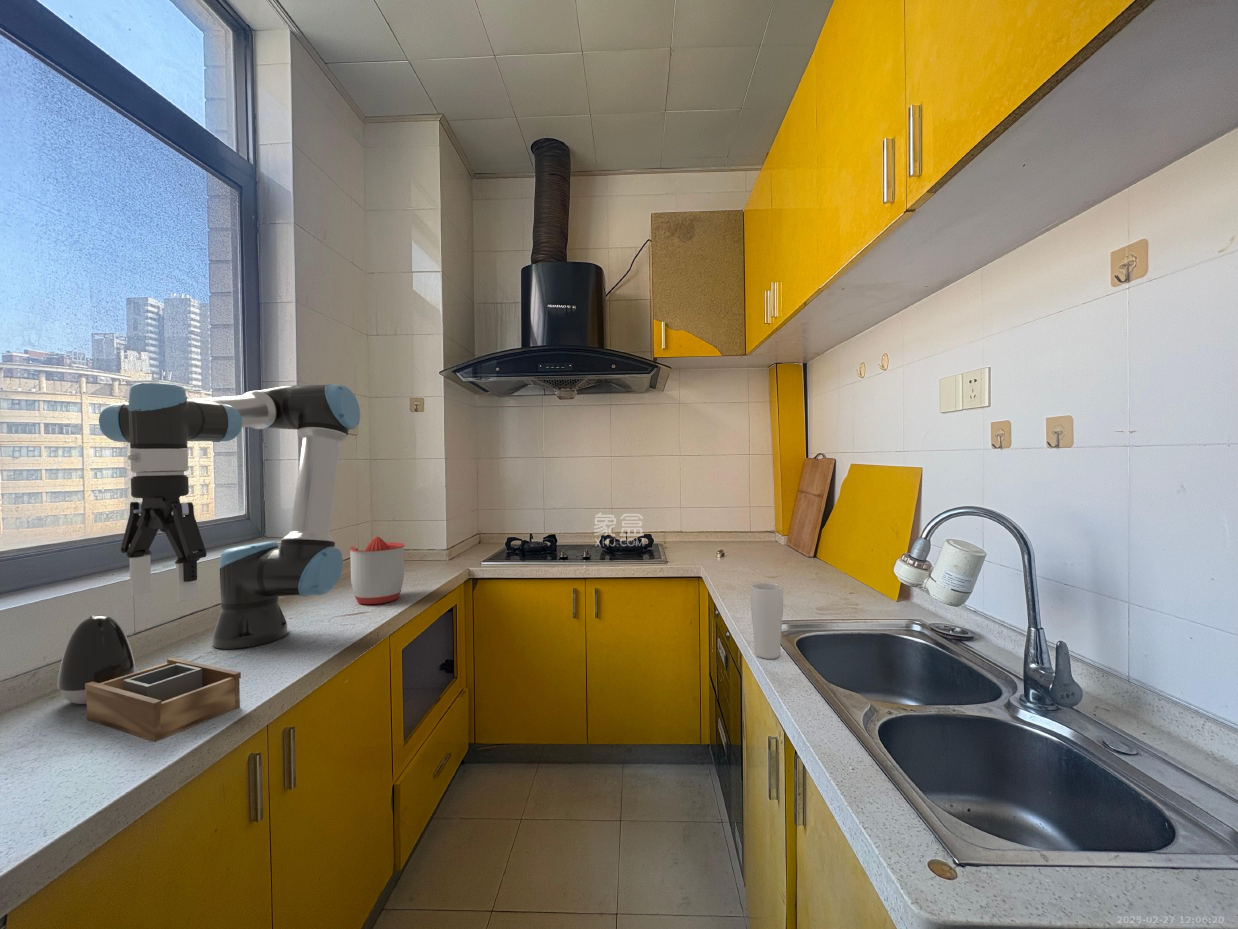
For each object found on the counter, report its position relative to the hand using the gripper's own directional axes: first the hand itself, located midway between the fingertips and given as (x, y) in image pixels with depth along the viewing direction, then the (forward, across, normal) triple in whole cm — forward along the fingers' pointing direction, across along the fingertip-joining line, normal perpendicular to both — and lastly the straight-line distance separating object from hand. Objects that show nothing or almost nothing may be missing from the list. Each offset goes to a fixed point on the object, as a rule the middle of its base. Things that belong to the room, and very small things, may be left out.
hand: (163, 597), depth 92 cm
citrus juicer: (+21, -26, +69) cm, 76 cm away
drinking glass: (+20, +93, +64) cm, 115 cm away
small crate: (+19, 0, 0) cm, 19 cm away
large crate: (+20, 0, 0) cm, 20 cm away
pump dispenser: (+20, -19, -1) cm, 28 cm away
